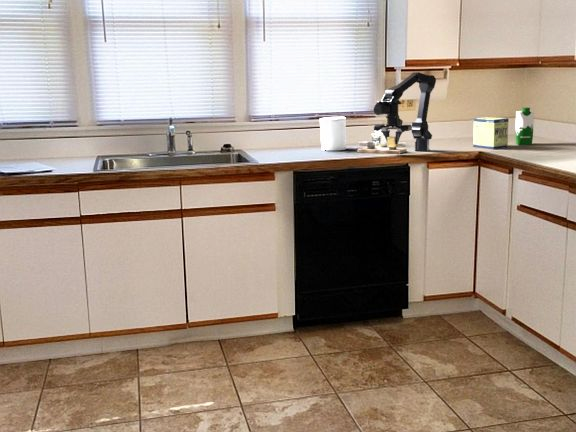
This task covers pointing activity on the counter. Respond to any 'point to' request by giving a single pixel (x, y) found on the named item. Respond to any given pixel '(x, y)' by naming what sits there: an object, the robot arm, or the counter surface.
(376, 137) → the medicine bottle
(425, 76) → the robot arm
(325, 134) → the utensil holder
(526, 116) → the milk carton
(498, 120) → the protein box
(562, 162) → the counter surface
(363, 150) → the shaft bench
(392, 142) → the block
